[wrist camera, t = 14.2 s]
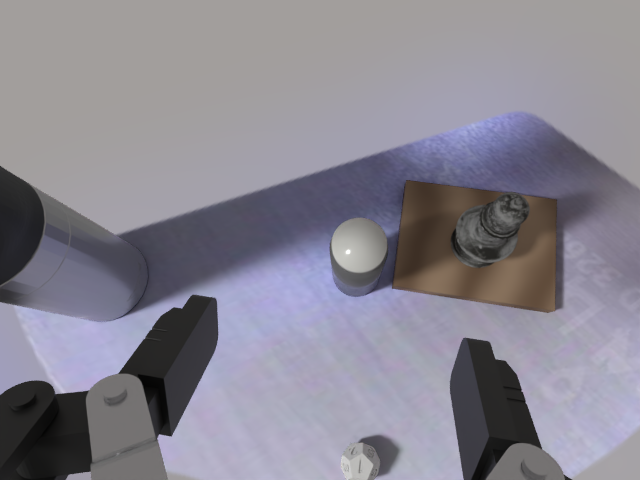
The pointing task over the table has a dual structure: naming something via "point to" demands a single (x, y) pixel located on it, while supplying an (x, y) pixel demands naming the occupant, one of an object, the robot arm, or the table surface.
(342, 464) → the game die
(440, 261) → the walnut board
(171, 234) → the table surface
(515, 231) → the grey chess piece
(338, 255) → the grey cylinder
